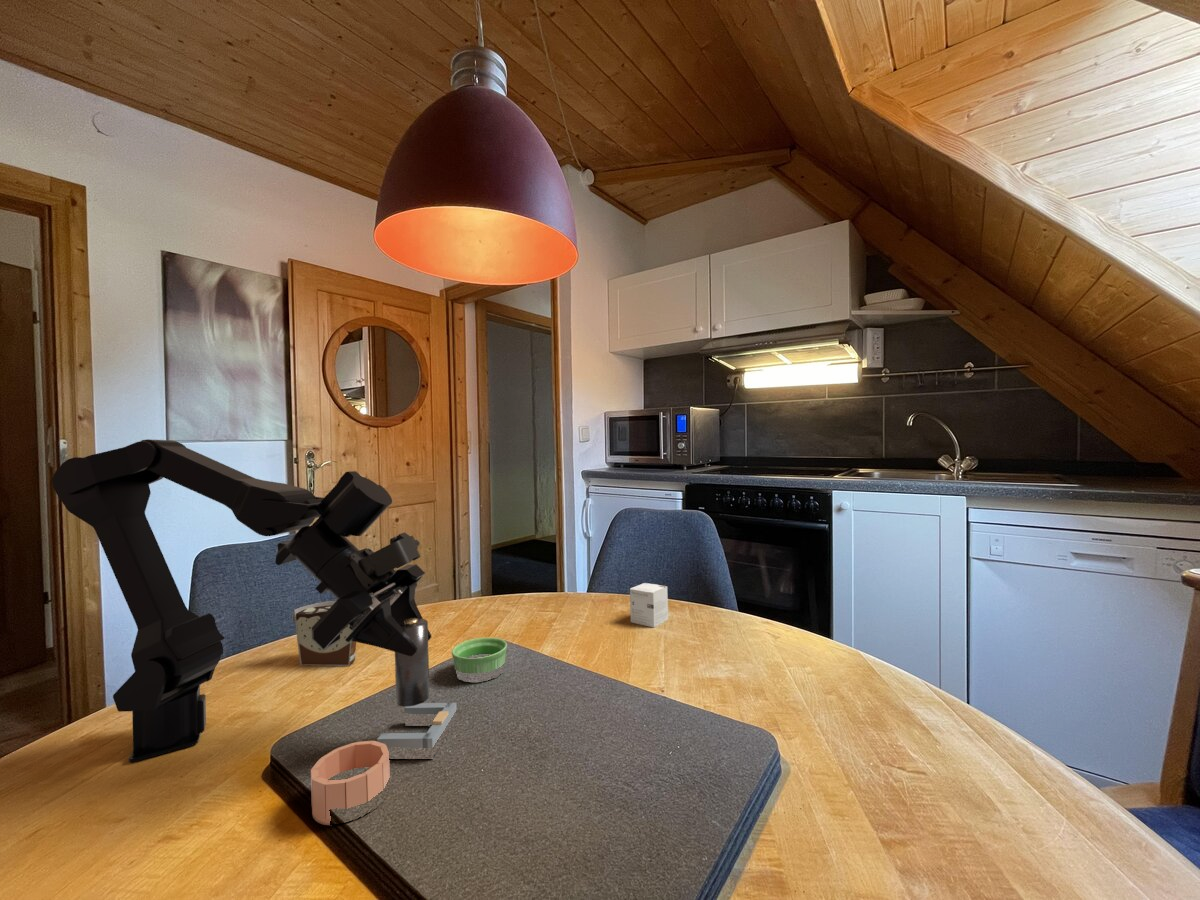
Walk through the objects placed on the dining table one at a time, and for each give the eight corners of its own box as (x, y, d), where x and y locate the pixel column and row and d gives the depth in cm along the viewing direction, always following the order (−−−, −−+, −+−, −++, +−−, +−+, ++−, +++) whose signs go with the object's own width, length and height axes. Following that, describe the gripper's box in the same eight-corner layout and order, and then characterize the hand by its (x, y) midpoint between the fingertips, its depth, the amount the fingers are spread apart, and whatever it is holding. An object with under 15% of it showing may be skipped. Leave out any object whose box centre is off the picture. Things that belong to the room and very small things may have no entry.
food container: (377, 652, 91) (375, 599, 91) (357, 666, 85) (356, 609, 85) (316, 652, 92) (314, 599, 92) (292, 665, 86) (291, 609, 86)
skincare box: (630, 623, 102) (628, 588, 103) (645, 615, 107) (644, 582, 107) (654, 628, 99) (653, 592, 99) (669, 619, 103) (667, 585, 104)
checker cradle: (377, 760, 57) (377, 735, 57) (408, 721, 66) (408, 700, 66) (432, 759, 57) (432, 735, 57) (456, 721, 65) (456, 699, 66)
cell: (400, 710, 59) (397, 627, 59) (393, 697, 62) (391, 619, 62) (433, 699, 61) (431, 620, 61) (424, 688, 64) (422, 612, 65)
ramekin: (450, 667, 83) (450, 642, 83) (503, 658, 86) (502, 633, 86) (454, 690, 75) (453, 662, 75) (512, 679, 78) (511, 652, 78)
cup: (315, 836, 46) (314, 794, 46) (309, 795, 52) (308, 757, 52) (395, 803, 50) (394, 764, 50) (382, 768, 56) (381, 733, 56)
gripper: (335, 526, 53) (437, 626, 52) (409, 509, 72) (485, 582, 71) (267, 600, 53) (367, 700, 52) (359, 563, 72) (434, 637, 71)
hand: (422, 646), depth 62 cm, fingers closed on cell, 4 cm apart
